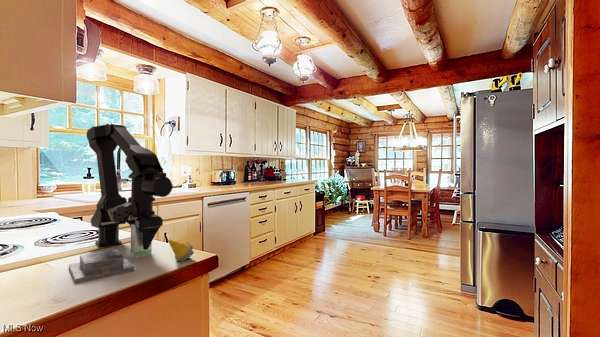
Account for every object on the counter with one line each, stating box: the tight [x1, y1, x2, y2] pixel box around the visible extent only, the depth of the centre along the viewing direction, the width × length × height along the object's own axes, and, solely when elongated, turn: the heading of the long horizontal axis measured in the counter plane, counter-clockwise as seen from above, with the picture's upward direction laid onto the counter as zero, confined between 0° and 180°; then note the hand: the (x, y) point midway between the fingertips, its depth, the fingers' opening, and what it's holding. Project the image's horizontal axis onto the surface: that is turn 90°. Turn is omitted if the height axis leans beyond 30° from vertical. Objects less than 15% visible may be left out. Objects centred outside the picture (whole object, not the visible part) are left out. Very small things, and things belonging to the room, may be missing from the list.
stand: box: [68, 248, 135, 284], centre depth 74 cm, size 12×12×4 cm
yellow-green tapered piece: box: [167, 239, 195, 262], centre depth 82 cm, size 5×5×10 cm
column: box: [129, 224, 153, 259], centre depth 86 cm, size 5×5×9 cm
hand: (141, 245), depth 86 cm, fingers open, 9 cm apart
